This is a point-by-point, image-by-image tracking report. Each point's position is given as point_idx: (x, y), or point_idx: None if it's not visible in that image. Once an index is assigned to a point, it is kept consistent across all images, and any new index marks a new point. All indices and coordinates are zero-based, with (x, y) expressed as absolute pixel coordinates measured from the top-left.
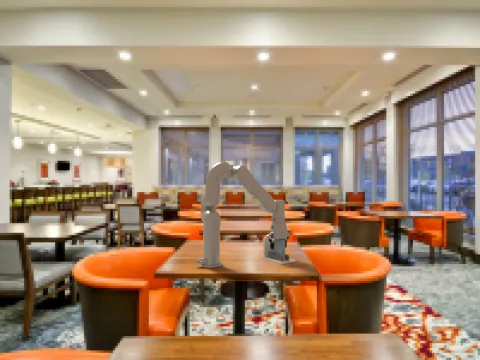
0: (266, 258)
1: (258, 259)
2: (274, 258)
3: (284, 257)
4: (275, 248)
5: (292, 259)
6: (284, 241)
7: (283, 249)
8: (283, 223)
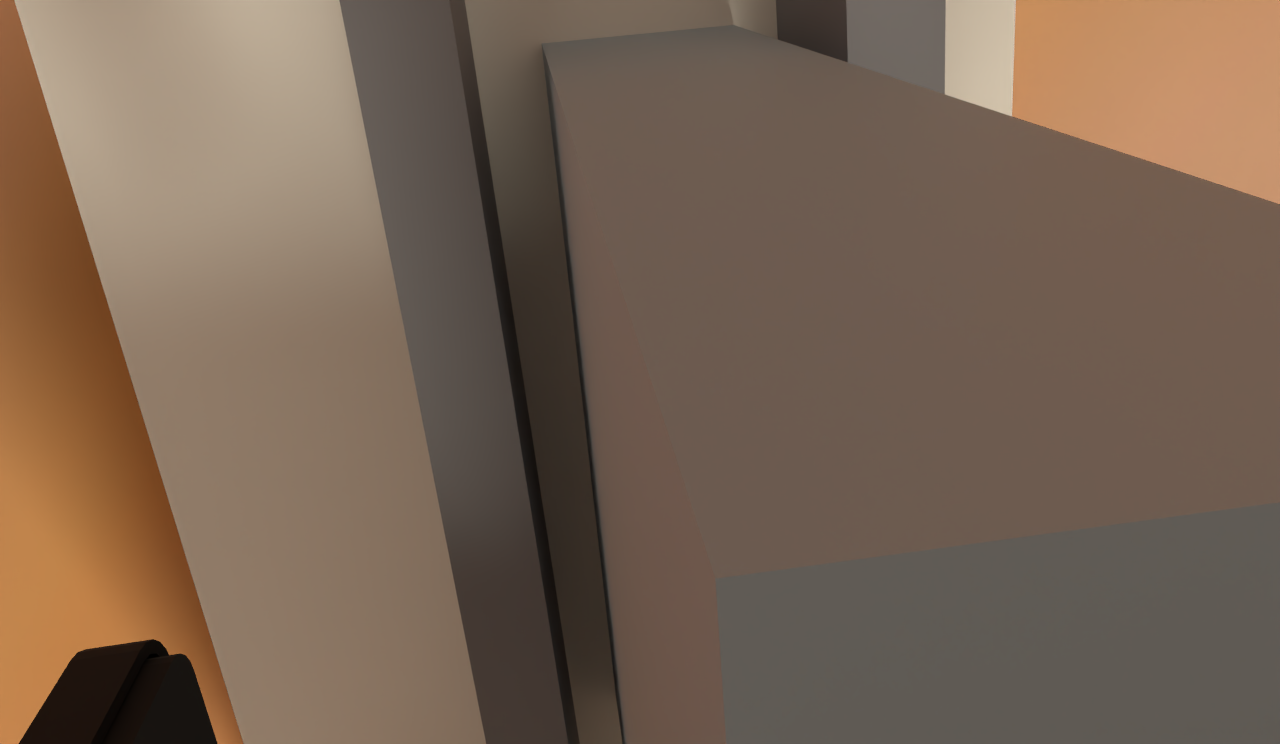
0: None
1: None
2: None
3: (591, 51)
4: None
5: (110, 5)
6: (857, 380)
7: (751, 107)
8: None
